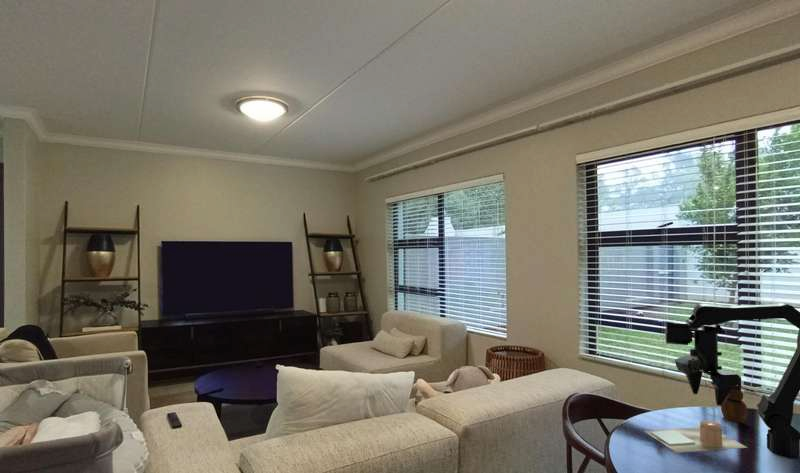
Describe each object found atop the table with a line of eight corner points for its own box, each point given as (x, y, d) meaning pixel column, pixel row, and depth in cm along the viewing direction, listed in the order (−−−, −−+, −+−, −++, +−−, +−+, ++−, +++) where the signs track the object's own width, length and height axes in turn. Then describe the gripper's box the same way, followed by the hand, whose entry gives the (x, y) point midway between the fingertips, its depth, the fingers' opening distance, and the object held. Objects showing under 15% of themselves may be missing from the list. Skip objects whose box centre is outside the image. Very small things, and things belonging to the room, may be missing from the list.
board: (747, 451, 126) (747, 447, 126) (676, 456, 123) (676, 452, 123) (708, 429, 139) (707, 426, 139) (643, 434, 137) (643, 430, 137)
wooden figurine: (751, 424, 143) (750, 378, 143) (739, 427, 141) (739, 380, 141) (728, 416, 149) (728, 372, 149) (717, 419, 147) (717, 374, 147)
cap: (726, 444, 127) (726, 427, 127) (710, 445, 127) (710, 428, 127) (711, 436, 133) (711, 419, 133) (696, 437, 132) (695, 420, 132)
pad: (695, 443, 128) (695, 442, 128) (669, 445, 127) (669, 443, 127) (674, 431, 136) (674, 430, 136) (650, 433, 135) (650, 431, 135)
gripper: (659, 340, 139) (660, 389, 139) (703, 356, 121) (704, 413, 121) (692, 339, 140) (693, 388, 140) (742, 354, 121) (743, 411, 121)
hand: (706, 399), depth 131 cm, fingers open, 9 cm apart
